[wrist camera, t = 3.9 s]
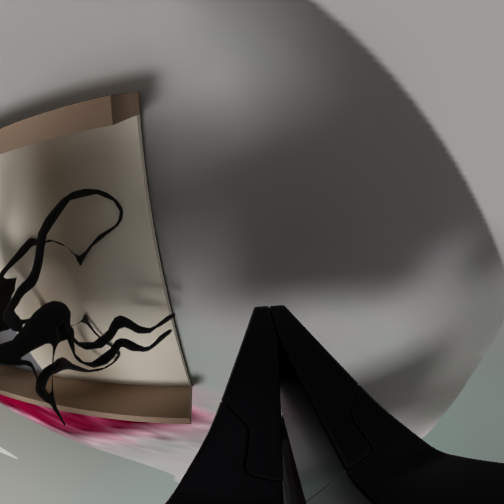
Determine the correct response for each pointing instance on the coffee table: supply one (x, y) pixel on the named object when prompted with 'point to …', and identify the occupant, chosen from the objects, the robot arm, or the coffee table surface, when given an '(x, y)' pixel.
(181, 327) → the coffee table surface
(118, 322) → the creature
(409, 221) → the coffee table surface
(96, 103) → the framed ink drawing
